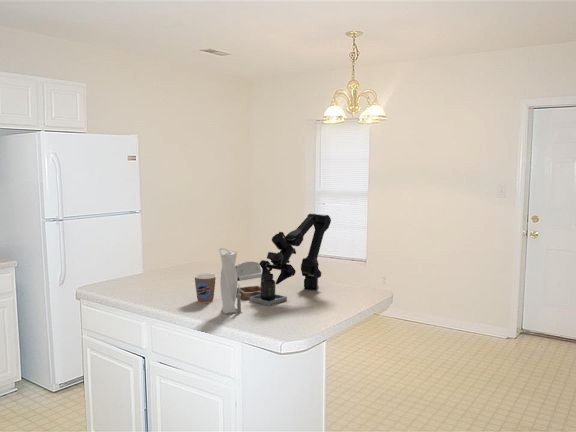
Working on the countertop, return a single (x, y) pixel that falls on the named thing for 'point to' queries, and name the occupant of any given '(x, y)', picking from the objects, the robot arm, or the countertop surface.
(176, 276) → the countertop surface
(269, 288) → the supplement bottle
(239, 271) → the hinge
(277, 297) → the tray
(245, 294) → the slot holder
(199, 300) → the coffee cup
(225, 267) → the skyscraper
